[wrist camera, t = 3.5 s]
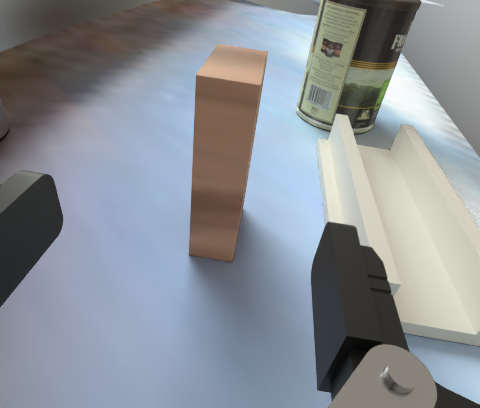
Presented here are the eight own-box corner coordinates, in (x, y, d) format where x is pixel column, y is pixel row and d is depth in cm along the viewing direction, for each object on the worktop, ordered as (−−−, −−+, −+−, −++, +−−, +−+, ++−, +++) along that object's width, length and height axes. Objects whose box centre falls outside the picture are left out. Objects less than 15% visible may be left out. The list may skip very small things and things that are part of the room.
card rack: (505, 350, 20) (550, 310, 18) (336, 321, 20) (358, 277, 18) (407, 161, 38) (423, 127, 35) (316, 146, 38) (325, 112, 35)
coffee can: (376, 113, 48) (421, -4, 39) (369, 142, 40) (423, 5, 32) (305, 94, 50) (332, -20, 42) (285, 119, 43) (314, -14, 34)
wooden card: (232, 262, 23) (260, 85, 16) (188, 254, 23) (196, 74, 16) (243, 207, 28) (267, 51, 21) (206, 201, 28) (218, 43, 21)
